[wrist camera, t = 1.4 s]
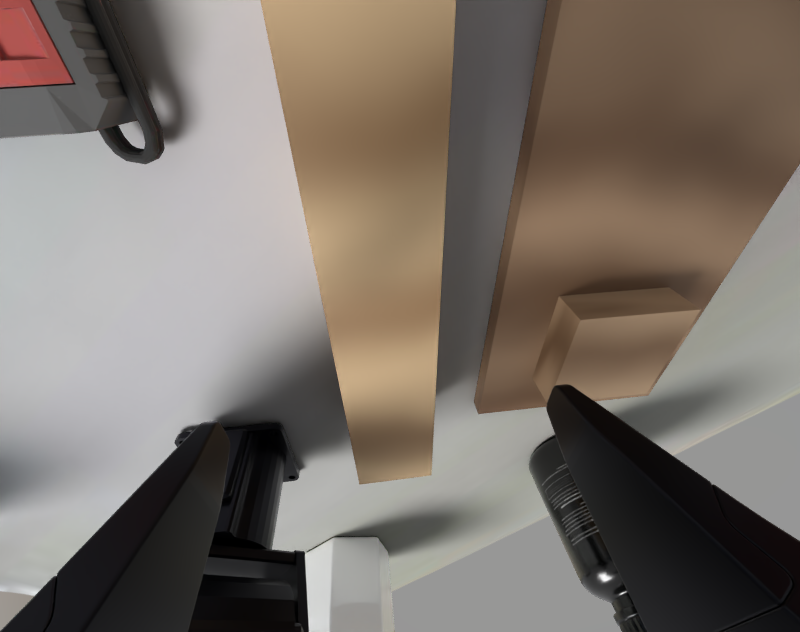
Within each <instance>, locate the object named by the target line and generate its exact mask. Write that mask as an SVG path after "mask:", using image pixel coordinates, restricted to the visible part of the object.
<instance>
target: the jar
mask: <svg viewBox="0 0 800 632" xmlns="http://www.w3.org/2000/svg"><path fill="white" fill-rule="evenodd" d="M305 566H306V584H307V603H308V622H309V632H395V630H394V618H393V605H392V592H391V579H390V566H389V554H388V551H387V550H386V549H385V547H384V546H383V545H382V543H381V542H380V540H379V539H378V538H377V537H334V538H332V539H330V540H328V541H327V542H325V543H323V544H321V545H319V546H318V547H316V548H314V549H312V550H311V551H309V552H307V553H306V554H305Z"/></svg>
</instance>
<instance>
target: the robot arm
mask: <svg viewBox="0 0 800 632" xmlns="http://www.w3.org/2000/svg"><path fill="white" fill-rule="evenodd" d="M546 407H547V413H548V416H549V418H550V421H551V424H552V427H553V429H554V432H555V435H556V438H557V440H558V443H559V446H560V449H561V451H562V454H563V457H564V459H565V462H566V464H567V466H568V469H569V471H570V473H571V475H572V477H573V479H574V481H575V483H576V485H577V487H578V490H579V492H580V494H581V496H582V498H583V500H584V502H585V504H586V506H587V508H588V510H589V512H590V514H591V516H592V518H593V521H594V523H595V525H596V527H597V529H598V531H599V533H600V535H601V537H602V539H603V541H604V543H605V545H606V547H607V549H608V552H609V554H610V556H611V558H612V560H613V562H614V564H615V566H616V568H617V570H618V572H619V574H620V576H621V578H622V580H623V583H624V585H625V587H626V589H627V591H628V593H629V595H630V597H631V599H632V601H633V603H634V605H635V607H636V609H637V611H638V614H639V616H640V618H641V620H642V622H643V624H644V626H645V628H646V630H647V632H800V541H799V540H797V539H796V538H794V537H792V536H791V535H789V534H788V533H786V532H785V531H783V530H781V529H780V528H778V527H777V526H775V525H773V524H772V523H770V522H769V521H767V520H766V519H764V518H762V517H761V516H760V515H758V514H757V513H755V512H754V511H752V510H751V509H749V508H748V507H746V506H745V505H743V504H742V503H740V502H739V501H737V500H736V499H734V498H733V497H731V496H730V495H729V494H727V493H726V492H724V491H723V490H721V489H720V488H719V487H717V486H716V485H712V484H711V483H710V481H708V480H707V479H705V478H704V477H702V476H701V475H700V474H698V473H697V472H695V471H694V470H692V469H691V468H690V467H688V466H687V465H685V464H684V463H682V462H681V461H680V460H678V459H677V458H675V457H674V456H672V455H671V454H670V453H668V452H667V451H665V450H664V449H662V448H661V447H659V446H658V445H657V444H655V443H654V442H652V441H651V440H649V439H648V438H647V437H645V436H644V435H642V434H641V433H639V432H638V431H636V430H635V429H634V428H632V427H631V426H629V425H628V424H626V423H625V422H624V421H622V420H621V419H619V418H618V417H616V416H615V415H613V414H612V413H611V412H609V411H608V410H606V409H605V408H603V407H602V406H601V405H599V404H598V403H596V402H595V401H593V400H592V399H590V398H589V397H588V396H586V395H585V394H583V393H582V392H580V391H579V390H578V389H576V388H575V387H573V386H572V385H569V384H562V385H555V386H554V387H553V388H552V391H551V394H550V396H549V399H548V401H547V406H546ZM175 444H176V446H177V448H176V449H175V450H174V451H173V452H172V454H171V455H170V456H169V457H168V458H167V459H166V460H165V461H164V462H163V463H162V464H161V465H160V466H159V467H158V468H157V469H156V470H155V471H154V472H153V473H152V474H151V475H150V476H149V478H148V479H147V480H146V481H145V482H144V483H143V484H142V485H141V486H140V487H139V488H138V489H137V490H136V491H135V492H134V493H133V494H132V495H131V496H130V497H129V498H128V499H127V500H126V502H125V503H124V504H123V505H122V506H121V507H120V508H119V509H118V510H117V511H116V512H115V513H114V514H113V515H112V516H111V517H110V518H109V519H108V520H107V521H106V522H105V523H104V524H103V526H102V527H101V528H100V529H99V530H98V531H97V532H96V533H95V534H94V535H93V536H92V537H91V538H90V539H89V540H88V541H87V542H86V543H85V544H84V545H83V546H82V547H81V548H80V550H79V551H78V552H77V553H76V554H75V555H74V556H73V557H72V558H71V559H70V560H69V561H68V562H67V563H66V564H65V565H64V566H63V567H62V568H61V569H60V570H59V571H58V573H57V576H54V577H53V578H52V579H51V580H50V581H49V582H48V583H47V584H46V585H45V586H44V587H43V588H42V589H41V590H40V591H39V592H38V593H37V594H36V595H35V596H34V597H33V598H32V599H31V601H30V602H28V603H27V605H25V607H24V608H23V609H22V610H21V611H20V612H19V613H18V614H17V615H16V616H15V617H14V618H13V619H12V620H11V621H10V622H9V623H8V624H7V625H6V626H5V627H4V628H3V629H2V630H1V631H0V632H309V622H308V603H307V584H306V566H305V552H304V551H297V550H295V551H294V552H289V551H280V550H272V545H273V539H274V533H275V527H276V520H277V514H278V508H279V502H280V496H281V490H282V484H283V482H288V481H295V480H297V479H298V478H299V469H298V466H297V463H296V461H295V458H294V455H293V453H292V450H291V447H290V445H289V442H288V439H287V436H286V434H285V431H284V428H283V426H282V425H280V424H277V423H271V424H261V425H252V426H243V427H233V428H224V429H223V427H222V425H221V423H220V422H218V421H213V422H204V423H201V424H200V425H198V426H197V427H196V428H195V430H194V431H193V432H186V433H180V434H179V435H178V436H177V438H176V440H175Z"/></svg>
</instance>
